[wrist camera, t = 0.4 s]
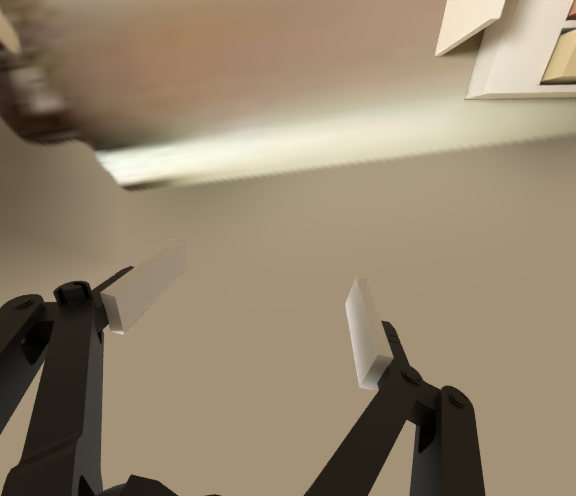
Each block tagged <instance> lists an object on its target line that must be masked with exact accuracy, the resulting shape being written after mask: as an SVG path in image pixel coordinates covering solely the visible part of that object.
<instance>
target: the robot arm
mask: <svg viewBox="0 0 576 496" xmlns="http://www.w3.org/2000/svg"><path fill="white" fill-rule="evenodd" d="M185 271H186V246H185V240H184V239H180V238H174V239H173V240H171V241H170V242H169V243H167V244H166V245H165V246H163V247H162V248H160V249H159V250H158V251H156V252H155V253H154V254H152V255H151V256H150V257H148V258H147V259H146V260H144V261H143V262H141V263H140V264H139V265H137V266H136V267H132V266H130V267H127V268H125V269H122V270H120V271H119V272H117V273H116V274H115V275H114V276H112V277H110V278H109V279H108V280H106V281H105V282H103V283H102V284H100V285H99V286H97V287H96V288H94V289H93V290H92V291H91V288H90V285H89V283H87V282H85V281H73V282H68V283H65V284H63V285H61V286H59V287H58V288H56V289H55V290H54V292H53V293H54V296H55V298H56V301H57V302H44V300H43V298H42V296H40V295H37V294H29V295H23V296H20V297H16V298H14V299H12V300H10V301H8V302H7V303H5V304H4V305H3V306H2V307H1V308H0V434H1V433H2V431H3V429H4V428H5V426H6V424H7V422H8V421H9V419H10V417H11V416H12V414H13V412H14V411H15V409H16V407H17V406H18V404H19V402H20V401H21V399H22V397H23V396H24V394H25V392H26V391H27V389H28V387H29V386H30V384H31V382H32V381H33V379H34V377H35V375H36V374H37V372H38V370H39V369H40V367H41V365H42V364H43V362H44V360H45V362H44V366H43V371H42V375H41V379H40V383H39V387H38V391H37V395H36V399H35V404H34V408H33V412H32V416H31V420H30V424H29V428H28V432H27V437H26V441H25V445H24V449H23V453H22V457H21V460H20V462H19V464H18V465H17V466H15V467H14V468H12V469H11V470H10V472H9V474H8V475H7V478H6V481H5V484H4V487H3V491H2V495H1V496H178V495H176V494H175V493H174V492H172V491H171V490H170V489H168V488H167V487H166V486H164V485H163V484H162V483H160V482H159V481H156V480H152V479H148V478H144V477H139V476H135V475H131V476H130V477H129V479H128V481H127V483H124V484H120V485H117V486H114V487H112V488H109V489H107V490H105V491H103V486H102V477H101V469H100V468H101V467H100V463H101V423H102V386H103V385H102V384H103V350H104V349H103V348H104V347H103V346H104V332H103V329H104V328H105V327H106V326H107V325H108V324H109V327H110V331H111V332H115V333H119V334H125V333H126V332H127V331H128V330H129V329H130V328H131V327H132V326H133V325H134V324H135V323H136V322H137V321H138V320H139V319H140V318H141V317H142V316H143V314H144V313H145V312H146V311H147V310H148V309H149V308H150V307H151V306H152V305H153V304H154V303H155V302H156V301H157V300H158V299H159V298H160V297H161V296H162V294H164V293H165V292H166V291H167V289H168V288H169V287H170V286H171V285H172V284H173V283H174V282H175V281H176V280H177V279H178V278H179V277H180V275H182V274H183V273H184V272H185ZM345 306H346V311H347V317H348V323H349V329H350V335H351V341H352V346H353V353H354V358H355V364H356V370H357V376H358V382H359V387H360V388H364V389H369V390H374V389H375V387H376V386H377V384H378V388H379V391H378V393H377V394H376V395H375V397H374V398H373V400H372V401H371V402H370V404H369V405H368V407H367V408H366V409H365V411H364V412H363V414H362V415H361V417H360V418H359V419H358V421H357V422H356V424H355V425H354V426H353V428H352V429H351V431H350V432H349V434H348V435H347V436H346V438H345V439H344V441H343V442H342V443H341V445H340V446H339V448H338V449H337V451H336V452H335V453H334V455H333V456H332V458H331V459H330V460H329V462H328V463H327V465H326V466H325V467H324V469H323V470H322V472H321V473H320V474H319V476H318V477H317V479H316V480H315V481H314V483H313V484H312V486H311V487H310V488H309V490H308V491H307V492H306V494H305V495H304V496H368V494H369V492H370V490H371V488H372V486H373V484H374V482H375V481H376V479H377V477H378V475H379V473H380V471H381V469H382V467H383V465H384V463H385V461H386V459H387V457H388V455H389V453H390V451H391V449H392V447H393V445H394V443H395V441H396V439H397V437H398V435H399V433H400V431H401V429H402V428H403V425H404V424H405V422H406V420H409V421H410V422H412V423H414V424H416V432H415V444H414V454H413V465H412V475H411V486H410V496H485V488H484V481H483V473H482V466H481V458H480V451H479V443H478V435H477V428H476V420H475V413H474V408H473V405H472V403H471V402H470V400H469V399H468V398H467V397H466V396H465V395H464V394H463V393H462V392H461V391H459V390H458V389H456V388H454V387H452V386H444V387H442V389H441V390H440V389H438V388H436V387H434V386H432V385H430V384H428V383H426V382H425V381H423V379H422V377H421V376H420V374H419V373H418V372H417V371H416V370H415V369H414V368H413V367H411V366H410V365H409V362H408V360H407V357H406V355H405V352H404V350H403V347H402V345H401V344H400V340H399V338H398V335H397V333H396V330H395V328H394V327H393V326H392V325H391V324H390V323H389V322H386V321H381V320H380V317H379V314H378V311H377V308H376V305H375V302H374V299H373V296H372V293H371V291H370V288H369V285H368V282H367V279H365V278H361V277H356V279H355V281H354V284H353V286H352V289H351V292H350V294H349V296H348V299H347V301H346V304H345ZM208 496H220V495H216V494H214V495H208Z"/></svg>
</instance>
